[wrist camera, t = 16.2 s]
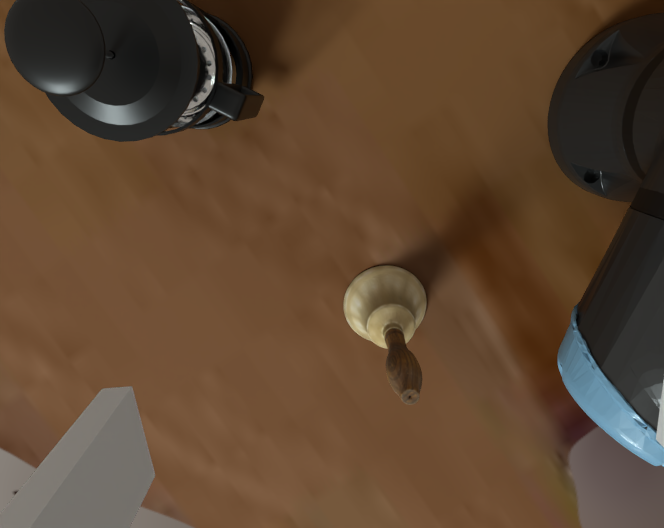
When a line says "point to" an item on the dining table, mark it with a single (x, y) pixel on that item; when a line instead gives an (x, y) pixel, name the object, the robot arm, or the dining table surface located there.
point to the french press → (132, 65)
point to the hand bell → (389, 321)
